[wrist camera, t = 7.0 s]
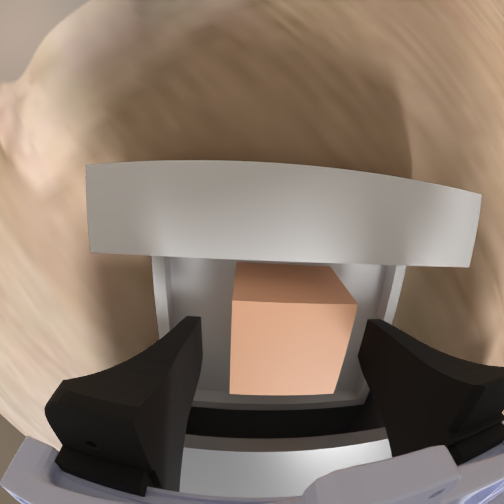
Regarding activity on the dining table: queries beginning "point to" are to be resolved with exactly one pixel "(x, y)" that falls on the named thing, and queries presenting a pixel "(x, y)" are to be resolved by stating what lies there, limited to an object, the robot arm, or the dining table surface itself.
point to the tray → (273, 245)
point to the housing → (277, 448)
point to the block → (288, 329)
